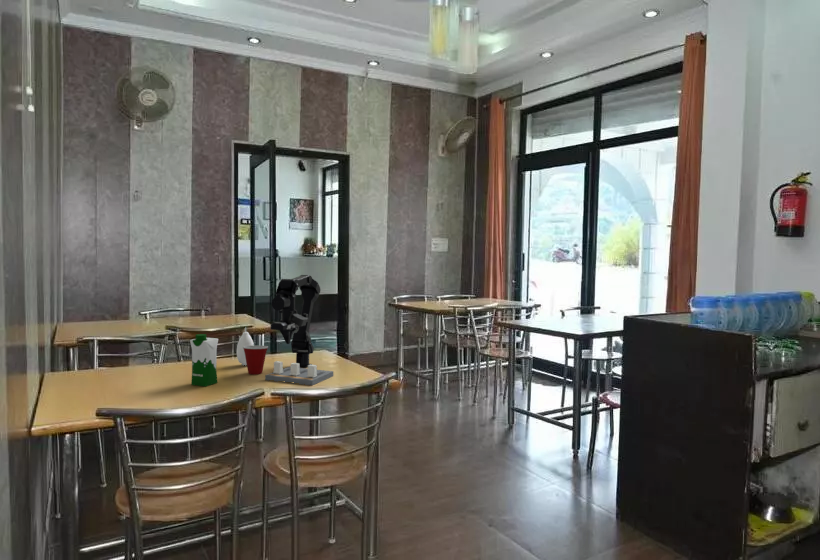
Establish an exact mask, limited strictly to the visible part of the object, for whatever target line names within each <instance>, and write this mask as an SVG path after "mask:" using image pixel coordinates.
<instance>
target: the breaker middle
mask: <svg viewBox="0 0 820 560" xmlns="http://www.w3.org/2000/svg"><path fill="white" fill-rule="evenodd" d="M290 367H291V373H290V375H295V376H297V375H299V374H300V373H299V372H300V368H301V367H300V363H296V362H292V363H290Z"/></svg>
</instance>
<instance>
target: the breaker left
mask: <svg viewBox="0 0 820 560" xmlns="http://www.w3.org/2000/svg"><path fill="white" fill-rule="evenodd" d="M317 366H318V365H316V364H312V365H308V367H307V369H308V375H307V377H313V378H314V377H316V376H317V370H318V367H317Z"/></svg>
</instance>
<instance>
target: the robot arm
mask: <svg viewBox="0 0 820 560" xmlns="http://www.w3.org/2000/svg"><path fill="white" fill-rule="evenodd" d="M298 290H300V292H301V293H300V294H301V297H302V300H303V301H302V302H303V303H302V307H301V308H302V309H301V312H300V314H299V313H298V310H297V309H296V297H297V294H296V293H297V292H298ZM320 294H321V286H320V284H319V282H318V281H316V280H315V279H314V278H313V277H312V276H311V275H309V274H301V275H299V276H297V277H293V278H281V279H280V281H279V282H278V286H277V288H276V291H275V294H274V295H275V297H274V298H273V299H272V300H271V307H272V309H274V310H275V311H279V313H280V314H281V319H279V321H275V322H272V323H270V327H269V329H270V330H271V331H272V330H273V331H274V330H275V331H280V334H281V336H282V338H283V339H284V342H285V343H286V345H291V352H292V354H294V353H295V354H296V355H295V363H300V368H308V365H313V363H310V355H311V354H314V349H315V348H314V346H313V343H312V338H311V335H310V326H311V319H312V315H313V310H314V305H315V304H314V303H315V302H316V301H317V300H318V299H319V296H320ZM296 325H297V326H296ZM297 329H298V330H297ZM296 330H297V331H296ZM295 331H296V332H295Z"/></svg>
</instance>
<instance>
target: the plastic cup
mask: <svg viewBox="0 0 820 560" xmlns="http://www.w3.org/2000/svg"><path fill="white" fill-rule="evenodd" d="M268 348H269V345H257V344H256V345H252V346H243V349H244V352H245V357H246V364H247V366H246V368H247V373H248V375H261V374H263V370H264V366H265V360H266V355H267V351H268Z"/></svg>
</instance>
